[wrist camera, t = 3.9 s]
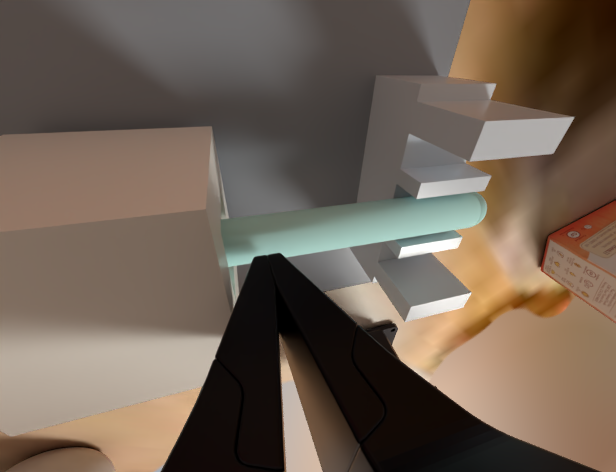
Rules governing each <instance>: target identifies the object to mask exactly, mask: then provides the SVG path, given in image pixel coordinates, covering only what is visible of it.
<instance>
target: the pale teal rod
mask: <svg viewBox="0 0 616 472" xmlns="http://www.w3.org/2000/svg"><path fill="white" fill-rule="evenodd" d="M486 211H487V205H486V202H485V200H484V198H483V197H482V196H481V195H480V194H478V193H477V192H469V193H461V194H453V195H445V196H437V197H429V198H421V199H416V198H414V197H413V196H410V197H402V198H394V199H385V200H377V201H369V202H361V203H353V204H344V205H336V206H328V207H320V208H311V209H303V210H295V211H287V212H278V213H270V214H262V215H254V216H245V217H237V218H229V219H221V235H222V240H223V244H224V249H225V254H226V258H227V263H228V267H231V266H237V265H243V264H249V263H251V262H252V260H253V258H254V257H255V256H261V255H268V254H274V253H281V254H282V255H283V256H285V257H292V256H298V255H304V254H311V253H317V252H323V251H329V250H335V249H341V248H347V247H353V246H359V245H366V244H372V243H378V242H384V241H390V240H396V239H402V238H408V237H415V236H421V235H427V234H433V233H439V232H445V231H451V230H457V229H463V228H469V227H472V226H475V225H477V224H478V223H480V222H481V221H482V220H483V218H484V217H485V215H486Z"/></svg>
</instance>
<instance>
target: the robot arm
mask: <svg viewBox="0 0 616 472" xmlns="http://www.w3.org/2000/svg"><path fill="white" fill-rule="evenodd" d="M397 330H398V328H397V326H396V324H394V323H393V324H389V325H384V326H380V327H376V328H372V329H368V330H364V329H363V328H362V327H361V326H359V325H358V326H357V323H356V322H355V321H354V320H353V319H352V318H351V317H350V316H349V315H347V314H346V313H345V312H344V311H343V310H342V309H341V308H340V307H339V306H338V305H337V304H336V303H334V302H333V301H332V300H331V299H330V298H329V297H328V296H327V295H326V294H325V293H324V292H322V291H321V290H320V289H319V288H318V287H317V286H316V285H315V284H314V283H313V282H312V281H311V280H309V279H308V278H307V277H306V276H305V275H304V274H303V273H302V272H301V271H300V270H299V269H298V268H296V267H295V266H294V265H293V264H292V263H291V262H290V261H289V260H288V259H287V258H286V257H285V256H283V255H282V254H281V253H274V254H268V255H261V256H255V257H254V258H253V260H252V262H251V265H250V268H249V270H248V273H247V275H246V278H245V280H244V283H243V285H242V288H241V291H240V293H239V296H238V298H237V301H236V303H235V306H234V309H233V311H232V314H231V316H230V319H229V321H228V324H227V326H226V329H225V332H224V334H223V337H222V339H221V342H220V344H219V347H218V350H217V352H216V355H215V359H214V360H213V362H212V364H211V367H210V370H209V372H208V375H207V377H206V379H205V382H204V384H203V387H202V389H201V391H200V394H199V396H198V398H197V401H196V403H195V405H194V407H193V409H192V411H191V413H190V415H189V417H188V419H187V421H186V423H185V425H184V427H183V430H182V432H181V434H180V436H179V437H178V439H177V441H176V443H175V445H174V447H173V449H172V451H171V453H170V455H169V457H168V459H167V461H166V463H165V465H164V466H163V468H162V470H161V472H286V458H285V440H284V421H283V402H282V383H281V364H280V345H279V334H280V338H281V341H282V344H283V347H284V350H285V353H286V357H287V360H288V363H289V366H290V369H291V372H292V376H293V379H294V382H295V385H296V388H297V391H298V394H299V398H300V401H301V404H302V407H303V410H304V413H305V417H306V420H307V423H308V426H309V429H310V432H311V436H312V439H313V442H314V445H315V448H316V451H317V455H318V458H319V461H320V464H321V467H322V470H323V472H600V471H597V470H595V469H593V468H590V467H588V466H585V465H583V464H580V463H578V462H575V461H572V460H570V459H567V458H565V457H562V456H560V455H557V454H555V453H552V452H550V451H547V450H545V449H542V448H540V447H537V446H535V445H532V444H530V443H527V442H525V441H522V440H519V439H517V438H514V437H512V436H510V435H507V434H505V433H503V432H501V431H499V430H497V429H495V428H493V427H492V426H490V425H488V424H486V423H484V422H483V421H481V420H480V419H478V418H477V417H475V416H473V415H472V414H470V413H469V412H468V411H466V410H465V409H464V408H462V407H461V406H459V405H458V404H457V403H455V402H454V401H453V400H451V399H450V398H449V397H448V396H446V395H445V394H443V393H442V392H441V391H440V390H438V389H437V387H436V386H433V385H431V384H430V383H429V382H428V381H426V380H425V379H424V378H422V377H421V376H420V375H418V374H417V373H416V372H414V371H413V370H412V369H410V368H409V367H408V366H407V365H405V364H404V363H403V362H401V361H400V359H399V357H398V356H397V354H396V352H395V350H394V349H393V347H392V343H393V340H394V337H395V335H396V332H397Z"/></svg>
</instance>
